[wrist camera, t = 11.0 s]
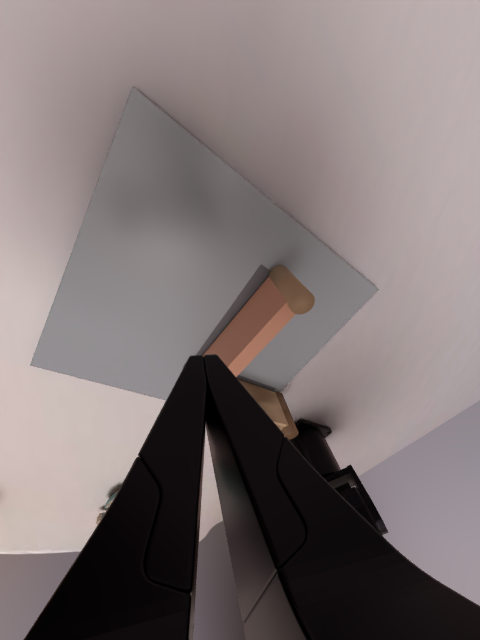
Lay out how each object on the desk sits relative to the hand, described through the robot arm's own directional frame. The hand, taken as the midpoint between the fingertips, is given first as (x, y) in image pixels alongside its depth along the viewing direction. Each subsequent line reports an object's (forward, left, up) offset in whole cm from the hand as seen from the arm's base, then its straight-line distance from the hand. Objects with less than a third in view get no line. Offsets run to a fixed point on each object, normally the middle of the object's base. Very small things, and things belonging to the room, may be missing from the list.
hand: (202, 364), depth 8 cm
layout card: (-5, +4, -12) cm, 13 cm away
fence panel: (-6, +4, -11) cm, 13 cm away
